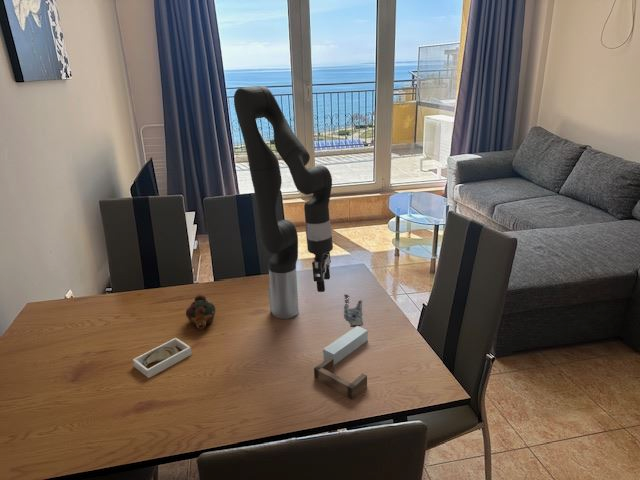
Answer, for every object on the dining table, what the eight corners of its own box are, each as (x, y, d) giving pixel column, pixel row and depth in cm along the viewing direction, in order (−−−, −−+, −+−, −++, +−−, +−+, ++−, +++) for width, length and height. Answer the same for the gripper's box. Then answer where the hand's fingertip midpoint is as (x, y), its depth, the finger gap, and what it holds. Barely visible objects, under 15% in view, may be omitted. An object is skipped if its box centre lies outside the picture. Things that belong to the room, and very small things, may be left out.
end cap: (314, 378, 122) (314, 368, 120) (329, 367, 126) (329, 356, 125) (352, 399, 114) (352, 388, 112) (367, 386, 118) (367, 375, 117)
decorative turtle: (213, 308, 159) (212, 289, 156) (218, 332, 146) (217, 312, 143) (185, 312, 156) (183, 292, 153) (188, 337, 143) (186, 316, 140)
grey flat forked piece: (363, 328, 145) (363, 322, 145) (342, 327, 146) (342, 322, 145) (362, 298, 165) (362, 293, 164) (344, 298, 165) (344, 293, 164)
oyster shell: (157, 376, 132) (183, 352, 133) (153, 377, 128) (180, 353, 130) (144, 360, 133) (171, 337, 134) (140, 361, 129) (167, 337, 130)
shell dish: (134, 366, 129) (132, 359, 128) (177, 344, 139) (175, 337, 138) (148, 378, 124) (147, 370, 123) (192, 354, 134) (190, 347, 133)
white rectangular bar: (323, 360, 130) (323, 349, 128) (357, 336, 141) (357, 325, 139) (333, 366, 127) (333, 354, 126) (367, 341, 138) (367, 330, 137)
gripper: (311, 227, 137) (316, 275, 143) (300, 244, 124) (306, 295, 130) (335, 227, 136) (339, 275, 141) (327, 243, 122) (332, 296, 128)
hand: (324, 285), depth 135 cm, fingers open, 8 cm apart
